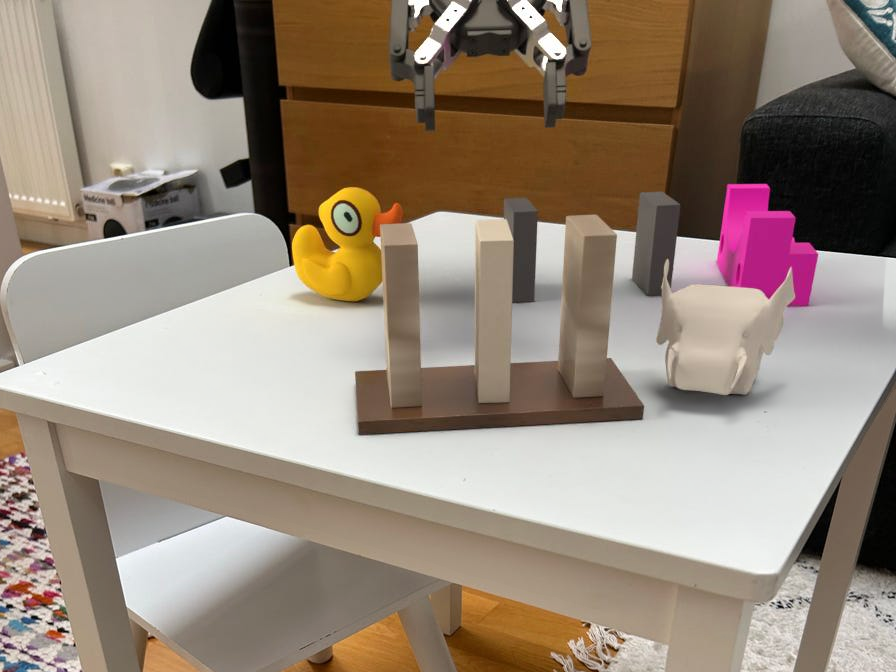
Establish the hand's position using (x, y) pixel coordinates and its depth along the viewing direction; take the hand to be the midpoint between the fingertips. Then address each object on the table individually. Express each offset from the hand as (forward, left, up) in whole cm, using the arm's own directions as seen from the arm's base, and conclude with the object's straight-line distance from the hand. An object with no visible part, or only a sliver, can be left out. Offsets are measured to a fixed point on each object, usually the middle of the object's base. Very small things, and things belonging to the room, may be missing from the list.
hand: (490, 121), depth 70 cm
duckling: (+18, -13, -18) cm, 29 cm away
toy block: (-18, -29, -18) cm, 39 cm away
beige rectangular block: (-3, +8, -16) cm, 18 cm away
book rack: (-3, +8, -17) cm, 19 cm away
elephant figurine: (-17, +1, -18) cm, 25 cm away
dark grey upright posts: (-3, -23, -17) cm, 29 cm away
